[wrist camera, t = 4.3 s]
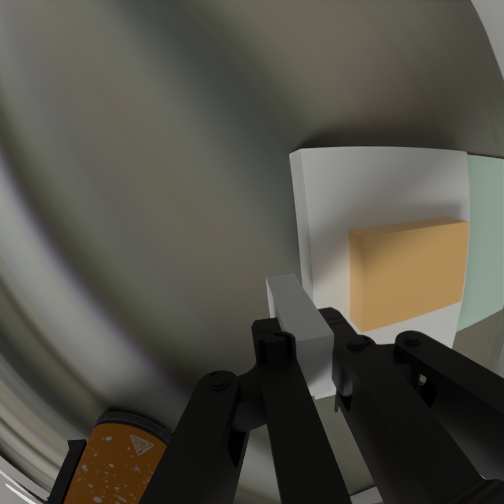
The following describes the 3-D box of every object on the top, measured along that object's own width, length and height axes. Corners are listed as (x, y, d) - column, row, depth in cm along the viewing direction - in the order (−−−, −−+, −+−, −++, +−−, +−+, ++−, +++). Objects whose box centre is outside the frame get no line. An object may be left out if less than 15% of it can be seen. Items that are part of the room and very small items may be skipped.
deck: (289, 154, 18) (300, 148, 15) (443, 152, 18) (466, 151, 15) (306, 377, 22) (315, 399, 19) (434, 338, 23) (450, 352, 20)
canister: (174, 462, 24) (162, 603, 5) (87, 437, 23) (43, 562, 4) (180, 420, 22) (162, 607, 3) (77, 389, 21) (2, 542, 2)
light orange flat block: (349, 318, 18) (361, 332, 16) (348, 230, 16) (363, 236, 14) (445, 292, 18) (461, 301, 16) (450, 217, 16) (468, 221, 14)
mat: (450, 153, 18) (453, 153, 18) (510, 160, 19) (513, 160, 18) (440, 335, 23) (442, 337, 22) (500, 307, 23) (502, 308, 23)
